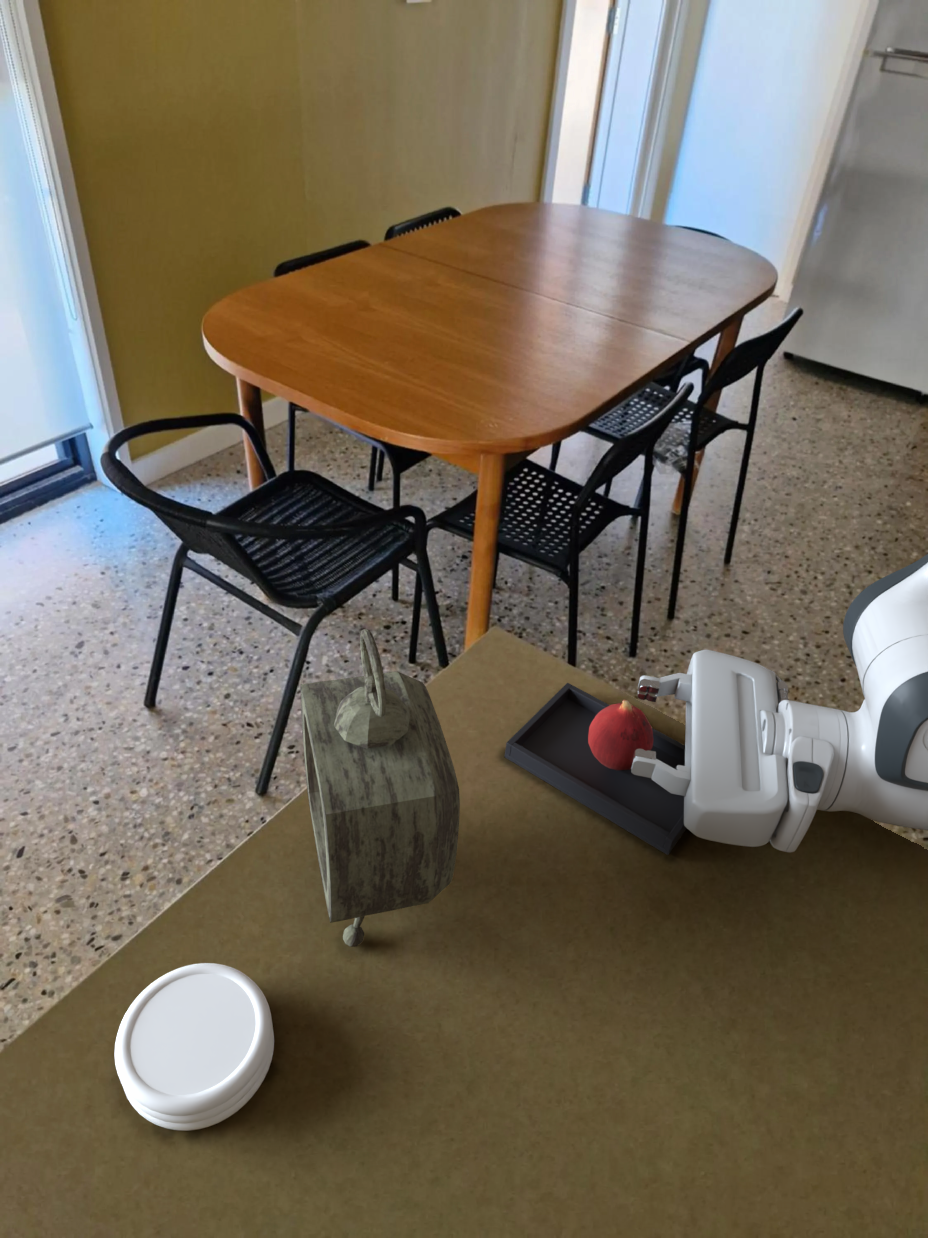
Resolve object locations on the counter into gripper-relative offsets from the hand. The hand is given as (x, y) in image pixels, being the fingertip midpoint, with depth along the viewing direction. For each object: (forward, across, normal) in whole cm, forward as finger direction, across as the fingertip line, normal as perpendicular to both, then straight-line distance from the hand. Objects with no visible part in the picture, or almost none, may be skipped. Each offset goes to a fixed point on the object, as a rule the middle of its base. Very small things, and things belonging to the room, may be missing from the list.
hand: (635, 722), depth 79 cm
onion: (+1, 0, +7) cm, 7 cm away
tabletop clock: (+19, +17, +7) cm, 26 cm away
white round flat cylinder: (+27, +33, +7) cm, 43 cm away
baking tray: (+1, 0, +7) cm, 7 cm away
